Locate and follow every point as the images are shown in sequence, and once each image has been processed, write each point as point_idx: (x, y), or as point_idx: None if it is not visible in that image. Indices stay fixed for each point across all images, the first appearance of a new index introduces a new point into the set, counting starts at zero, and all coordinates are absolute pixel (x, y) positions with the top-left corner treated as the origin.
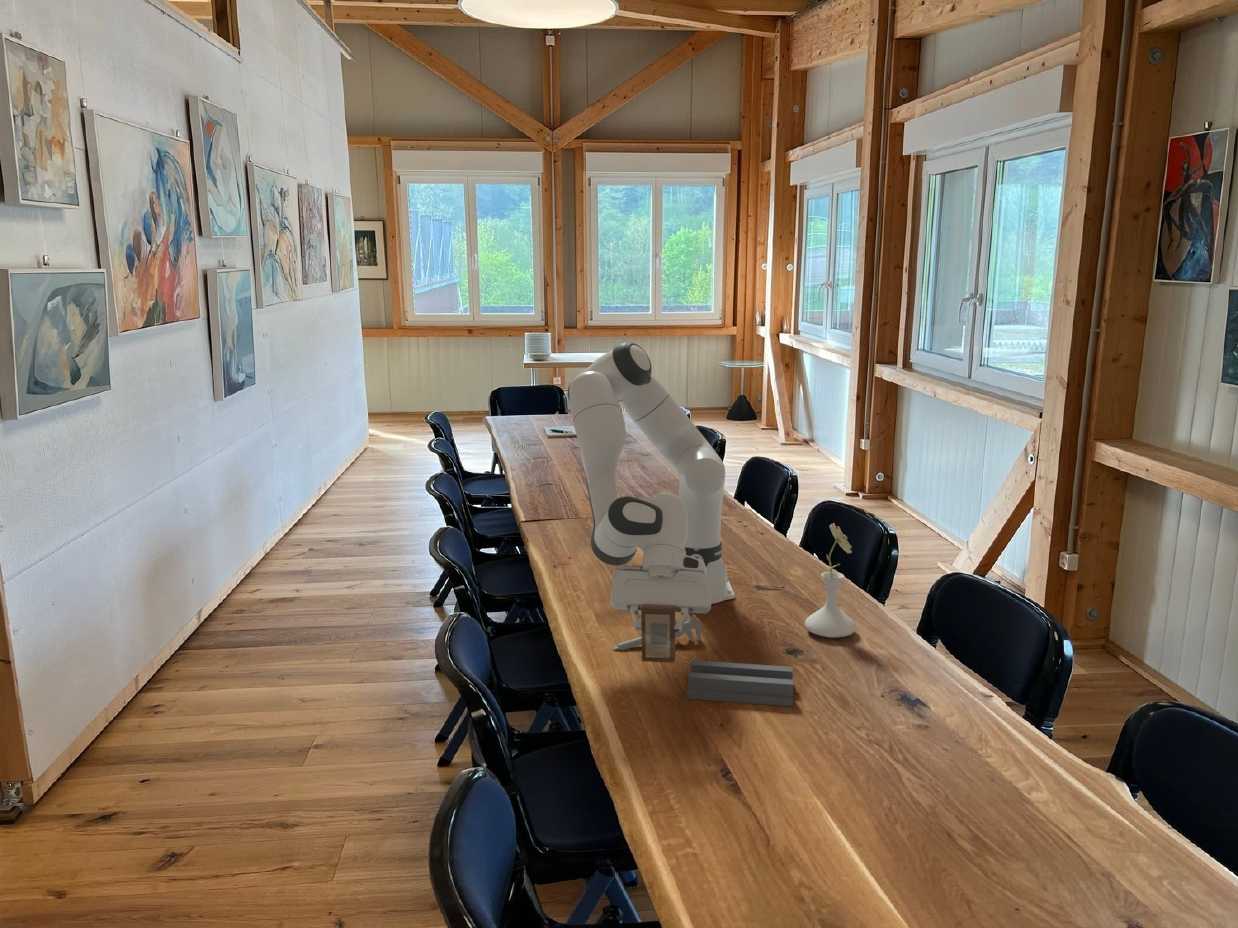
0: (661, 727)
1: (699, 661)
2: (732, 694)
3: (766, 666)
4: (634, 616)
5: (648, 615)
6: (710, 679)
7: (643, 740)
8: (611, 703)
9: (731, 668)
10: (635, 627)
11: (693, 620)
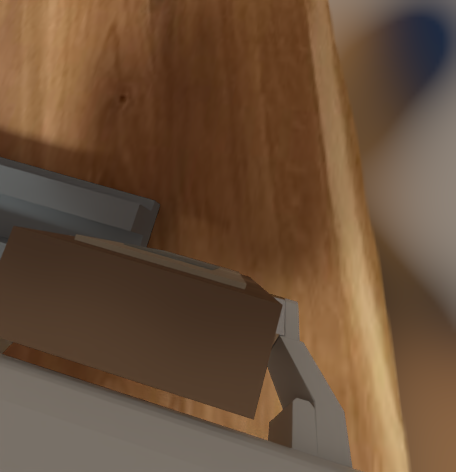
0: (232, 98)
1: None
2: (64, 176)
3: None
4: (305, 356)
5: (223, 277)
6: (89, 190)
7: (271, 58)
8: (319, 200)
9: None
10: (290, 300)
11: None
